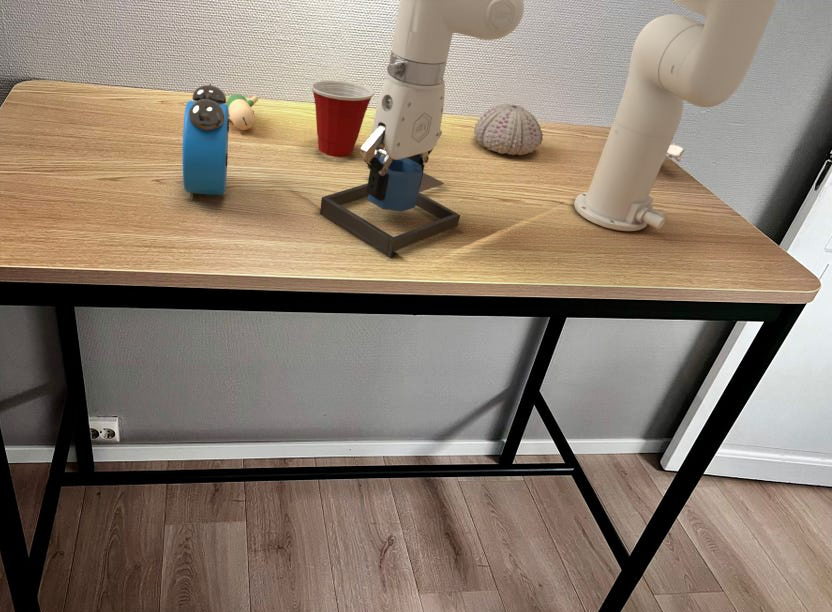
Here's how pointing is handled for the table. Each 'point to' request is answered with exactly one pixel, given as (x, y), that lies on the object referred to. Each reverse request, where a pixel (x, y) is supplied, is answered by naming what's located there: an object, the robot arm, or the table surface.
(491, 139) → the sea urchin shell
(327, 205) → the tray
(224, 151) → the alarm clock
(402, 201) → the ring
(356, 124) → the plastic cup
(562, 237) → the table surface
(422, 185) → the dowel stand
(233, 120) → the toy figurine
